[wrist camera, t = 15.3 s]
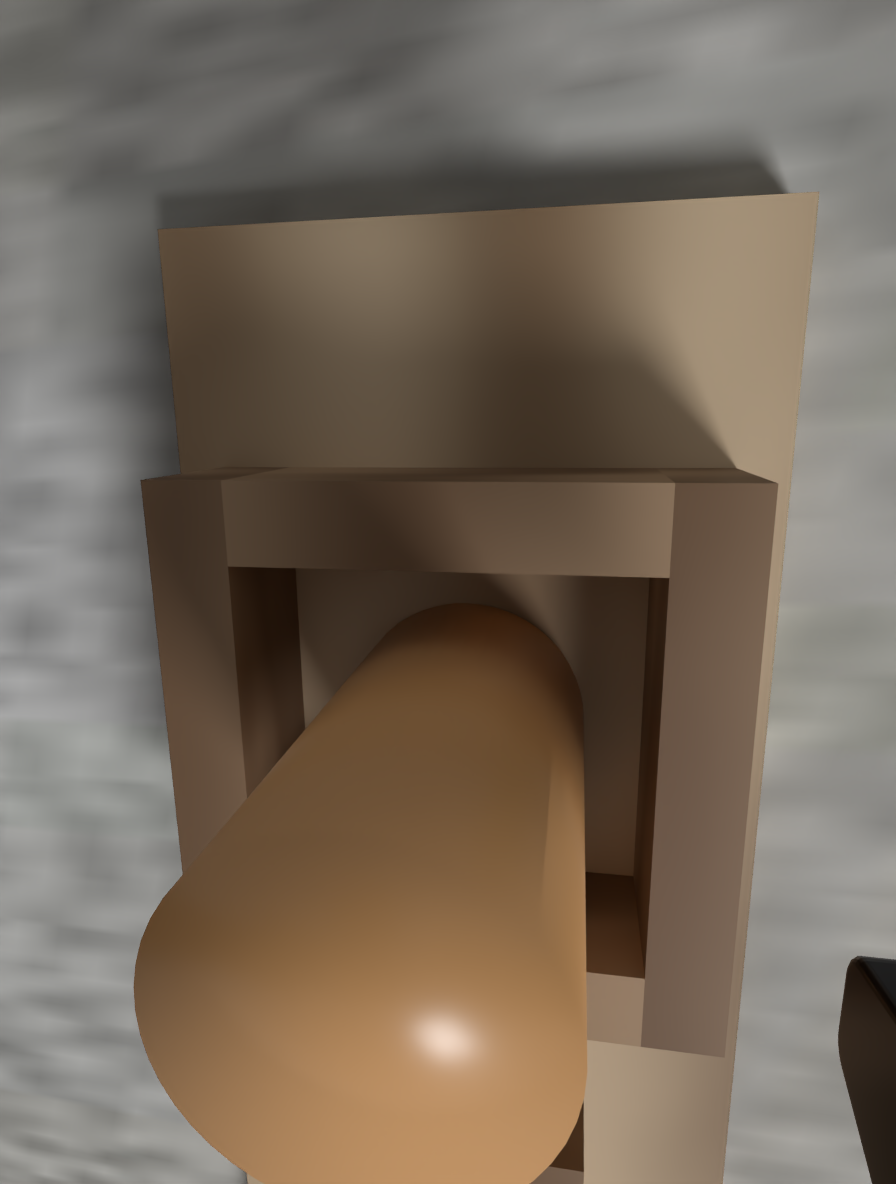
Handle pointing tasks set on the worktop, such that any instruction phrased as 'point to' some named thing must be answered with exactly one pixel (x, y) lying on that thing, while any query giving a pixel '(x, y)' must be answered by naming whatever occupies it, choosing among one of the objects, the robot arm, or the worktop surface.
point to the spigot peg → (392, 927)
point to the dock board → (510, 554)
